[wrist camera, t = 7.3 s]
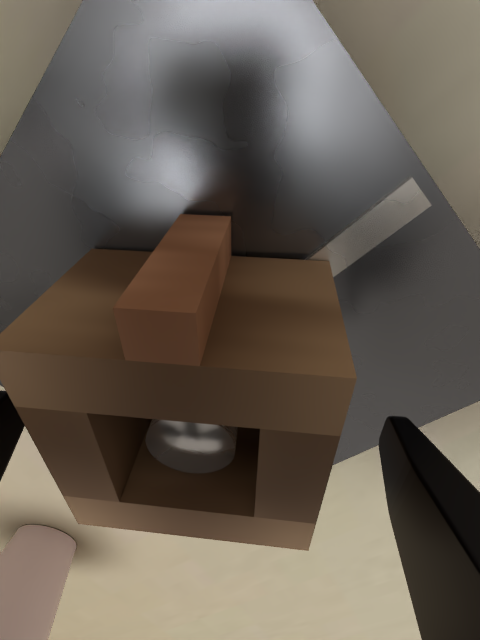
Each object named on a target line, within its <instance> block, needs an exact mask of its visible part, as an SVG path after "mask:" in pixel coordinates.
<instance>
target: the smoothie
mask: <svg viewBox="0 0 480 640" xmlns="http://www.w3.org/2000/svg"><path fill="white" fill-rule="evenodd" d="M75 550H76V542H75V541H74V540H73V539H72V538H71V537H70V536H69V535H67V534H65V533H64V532H62V531H59V530H57V529H54V528H51V527H47V526H42V525H24V526H21V527H19V528H18V529H17V531H16V532H15V534H14V535H13V536H12V538H11V539H10V541H9V542H8V543H7V545H6V546H5V548H4V549H3V551H2V552H1V553H0V640H48V638H49V635H50V631H51V628H52V625H53V622H54V618H55V615H56V612H57V608H58V605H59V602H60V599H61V595H62V592H63V589H64V586H65V582H66V579H67V576H68V572H69V569H70V566H71V563H72V559H73V556H74V553H75Z"/></svg>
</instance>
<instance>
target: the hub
mask: <svg viewBox="0 0 480 640" xmlns="http://www.w3.org/2000/svg"><path fill="white" fill-rule="evenodd" d="M180 214H191V215H213V216H231V256H241V257H260V258H279V259H297V260H316V261H329V262H330V266H331V270H332V274H333V279H334V283H335V287H336V291H337V296H338V300H339V304H340V308H341V313H342V317H343V321H344V326H345V330H346V334H347V338H348V343H349V347H350V351H351V355H352V360H353V364H354V368H355V372H356V377H357V380H356V384H355V387H354V391H353V394H352V398H351V401H350V405H349V408H348V412H347V415H346V419H345V422H344V426H343V430H342V433H341V437H340V440H339V444H338V447H337V451H336V454H335V458H334V461H333V465H334V464H336V463H339V462H341V461H343V460H346V459H348V458H350V457H352V456H355V455H357V454H359V453H361V452H364V451H366V450H368V449H371V448H373V447H375V446H377V445H379V437H380V434H381V431H382V429H383V426H384V423H385V420H386V418H387V417H388V416H404V417H407V418H408V419H409V420H411V422H412V423H413V424H414V425H415V426H416V427H417V428H418V427H421V426H423V425H425V424H427V423H430V422H432V421H434V420H437V419H439V418H441V417H443V416H446V415H448V414H450V413H453V412H455V411H457V410H459V409H462V408H464V407H466V406H468V405H471V404H473V403H475V402H478V401H480V249H479V248H478V246H477V245H476V243H475V242H474V240H473V239H472V237H471V236H470V234H469V233H468V231H467V230H466V228H465V227H464V225H463V224H462V222H461V221H460V219H459V218H458V216H457V215H456V213H455V212H454V210H453V209H452V207H451V206H450V204H449V203H448V201H447V200H446V198H445V197H444V195H443V194H442V192H441V191H440V189H439V188H438V187H437V185H436V184H435V182H434V181H433V179H432V178H431V176H430V175H429V173H428V172H427V170H426V169H425V167H424V166H423V164H422V163H421V161H420V160H419V158H418V157H417V155H416V154H415V152H414V151H413V149H412V148H411V146H410V145H409V143H408V142H407V140H406V139H405V137H404V136H403V134H402V133H401V131H400V130H399V128H398V127H397V126H396V124H395V123H394V121H393V120H392V118H391V117H390V115H389V114H388V112H387V111H386V109H385V108H384V106H383V105H382V103H381V102H380V100H379V99H378V97H377V96H376V94H375V93H374V91H373V90H372V88H371V87H370V85H369V84H368V82H367V81H366V79H365V78H364V76H363V75H362V73H361V72H360V70H359V69H358V67H357V66H356V64H355V63H354V62H353V60H352V59H351V57H350V56H349V54H348V53H347V51H346V50H345V48H344V47H343V45H342V44H341V42H340V41H339V39H338V38H337V36H336V35H335V33H334V32H333V30H332V29H331V27H330V26H329V24H328V23H327V21H326V20H325V18H324V17H323V15H322V14H321V12H320V11H319V9H318V8H317V6H316V5H315V3H314V2H313V1H312V0H83V1H82V3H81V5H80V7H79V9H78V11H77V13H76V14H75V16H74V18H73V20H72V22H71V24H70V26H69V28H68V30H67V31H66V33H65V35H64V37H63V39H62V41H61V43H60V45H59V47H58V49H57V50H56V52H55V54H54V56H53V58H52V60H51V62H50V64H49V66H48V67H47V69H46V71H45V73H44V75H43V77H42V79H41V81H40V83H39V85H38V86H37V88H36V90H35V92H34V94H33V96H32V98H31V100H30V102H29V103H28V105H27V107H26V109H25V111H24V113H23V115H22V117H21V119H20V121H19V122H18V124H17V126H16V128H15V130H14V132H13V134H12V136H11V138H10V140H9V141H8V143H7V145H6V147H5V149H4V151H3V153H2V155H1V157H0V333H1V332H3V331H4V330H5V329H6V328H7V327H8V326H9V325H10V324H11V323H12V322H13V321H14V320H15V319H17V318H18V317H19V316H20V315H21V314H22V313H23V312H24V311H25V310H26V309H27V308H28V307H29V306H31V305H32V304H33V303H34V302H35V301H36V300H37V299H38V298H39V297H40V296H41V295H42V294H43V293H45V292H46V291H47V290H48V289H49V288H50V287H51V286H52V285H53V284H54V283H55V282H56V281H57V280H59V279H60V278H61V277H62V276H63V275H64V274H65V273H66V272H67V271H68V270H69V269H70V268H71V267H73V266H74V265H75V264H76V263H77V262H78V261H79V260H80V259H81V258H82V257H83V256H84V255H85V254H87V253H88V252H89V251H90V250H91V249H109V250H128V251H147V252H153V251H154V250H155V248H156V247H157V246H158V244H159V243H160V241H161V240H162V239H163V237H164V236H165V234H166V233H167V232H168V230H169V229H170V228H171V226H172V225H173V223H174V222H175V221H176V219H177V218H178V216H179V215H180ZM0 385H1V386H3V384H2V382H1V381H0ZM3 387H4V386H3ZM237 429H238V427H234V426H223V425H212V424H201V423H190V422H179V421H168V420H157V419H152V421H151V423H150V426H149V429H148V432H147V435H146V445H147V448H148V450H149V452H150V453H151V454H152V455H153V457H154V458H156V459H157V460H158V461H159V462H161V463H162V464H164V465H166V466H168V467H170V468H172V469H175V470H178V471H182V472H187V473H198V474H201V473H210V472H215V471H218V470H220V469H223V468H224V467H226V466H227V465H228V464H230V462H231V461H232V460H233V458H234V455H235V448H236V439H237Z"/></svg>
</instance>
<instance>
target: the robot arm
mask: <svg viewBox="0 0 480 640" xmlns="http://www.w3.org/2000/svg"><path fill="white" fill-rule="evenodd" d="M24 426H25V425H24V423H23V421H22V419H21V417H20V416H19V414H18V412H17V410H16V408H15V406H14V405H13V403H12V401H11V399H10V397H9V395H8V394H7V392H6V391H0V481H1V479H2V476H3V474H4V472H5V470H6V468H7V465H8V463H9V461H10V458H11V456H12V454H13V452H14V449H15V447H16V445H17V442H18V440H19V438H20V435H21V433H22V431H23V429H24ZM379 451H380V458H381V465H382V472H383V478H384V485H385V492H386V498H387V505H388V510H389V515H390V520H391V524H392V528H393V532H394V535H395V539H396V543H397V547H398V551H399V554H400V558H401V562H402V566H403V570H404V574H405V577H406V581H407V585H408V589H409V593H410V596H411V600H412V604H413V608H414V612H415V615H416V619H417V623H418V627H419V631H420V635H421V638H422V640H480V492H479V491H478V490H477V489H476V488H475V487H474V486H473V485H472V484H471V483H470V482H469V481H468V480H467V479H466V478H465V477H464V475H463V474H462V473H461V472H460V471H459V470H458V469H457V468H456V467H455V466H454V465H453V464H452V463H451V462H450V461H449V460H448V459H447V458H446V457H445V456H444V455H443V454H442V453H441V452H440V451H439V450H438V449H437V447H436V446H435V445H434V444H433V443H432V442H431V441H430V440H429V439H428V438H427V437H426V436H425V435H424V434H423V433H422V432H421V431H420V430H419V429H418V428H417V427H416V426H415V425H414V424H413V423H412V422H411V420H409V419H408V418H407V417H404V416H388V417H387V418H386V420H385V423H384V426H383V429H382V431H381V434H380V437H379Z"/></svg>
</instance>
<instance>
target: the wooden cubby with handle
mask: <svg viewBox="0 0 480 640" xmlns="http://www.w3.org/2000/svg"><path fill="white" fill-rule="evenodd" d="M356 380H357V377H356V372H355V368H354V364H353V360H352V355H351V351H350V347H349V343H348V338H347V334H346V330H345V326H344V321H343V317H342V313H341V308H340V304H339V300H338V296H337V291H336V287H335V283H334V279H333V274H332V270H331V266H330V262H329V261H316V260H297V259H279V258H260V257H241V256H231V216H213V215H191V214H180V215H179V216H178V218H177V219H176V221H175V222H174V223H173V225H172V226H171V228H170V229H169V230H168V232H167V233H166V234H165V236H164V237H163V239H162V240H161V241H160V243H159V244H158V246H157V247H156V248H155V250H154V251H153V252H147V251H128V250H109V249H91V250H90V251H89V252H88V253H87V254H85V255H84V256H83V257H82V258H81V259H80V260H79V261H78V262H77V263H76V264H75V265H74V266H73V267H71V268H70V269H69V270H68V271H67V272H66V273H65V274H64V275H63V276H62V277H61V278H60V279H59V280H57V281H56V282H55V283H54V284H53V285H52V286H51V287H50V288H49V289H48V290H47V291H46V292H45V293H43V294H42V295H41V296H40V297H39V298H38V299H37V300H36V301H35V302H34V303H33V304H32V305H31V306H29V307H28V308H27V309H26V310H25V311H24V312H23V313H22V314H21V315H20V316H19V317H18V318H17V319H15V320H14V321H13V322H12V323H11V324H10V325H9V326H8V327H7V328H6V329H5V330H4V331H3V332H1V333H0V381H1V382H2V384H3V386H4V388H5V390H6V392H7V394H8V395H9V397H10V399H11V401H12V403H13V405H14V406H15V408H16V410H17V412H18V414H19V416H20V417H21V419H22V421H23V423H24V425H25V427H26V429H27V430H28V432H29V434H30V436H31V438H32V440H33V441H34V443H35V445H36V447H37V449H38V451H39V453H40V454H41V456H42V458H43V460H44V462H45V464H46V465H47V467H48V469H49V471H50V473H51V475H52V476H53V478H54V480H55V482H56V484H57V486H58V488H59V489H60V491H61V493H62V495H63V497H64V499H65V500H66V502H67V504H68V506H69V508H70V510H71V512H72V513H73V515H74V517H75V519H76V521H77V523H78V524H85V525H93V526H102V527H111V528H119V529H128V530H136V531H145V532H153V533H162V534H170V535H179V536H187V537H196V538H204V539H213V540H222V541H230V542H239V543H247V544H256V545H264V546H273V547H281V548H290V549H298V550H307V551H308V550H309V546H310V543H311V539H312V536H313V532H314V529H315V525H316V522H317V518H318V515H319V511H320V507H321V504H322V500H323V497H324V493H325V490H326V486H327V483H328V479H329V476H330V472H331V469H332V465H333V461H334V458H335V454H336V451H337V447H338V444H339V440H340V437H341V433H342V430H343V426H344V422H345V419H346V415H347V412H348V408H349V405H350V401H351V398H352V394H353V391H354V387H355V384H356ZM152 419H157V420H168V421H179V422H190V423H201V424H212V425H223V426H234V427H238V429H237V439H236V448H235V455H234V458H233V460H232V461H231V462H230V464H228V465H227V466H226V467H224V468H223V469H220V470H218V471H215V472H210V473H201V474H198V473H187V472H182V471H178V470H175V469H172V468H170V467H168V466H166V465H164V464H162V463H161V462H159V461H158V460H157V459H156V458H154V457H153V455H152V454H151V453H150V452H149V450H148V448H147V445H146V435H147V432H148V429H149V426H150V423H151V421H152Z"/></svg>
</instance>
